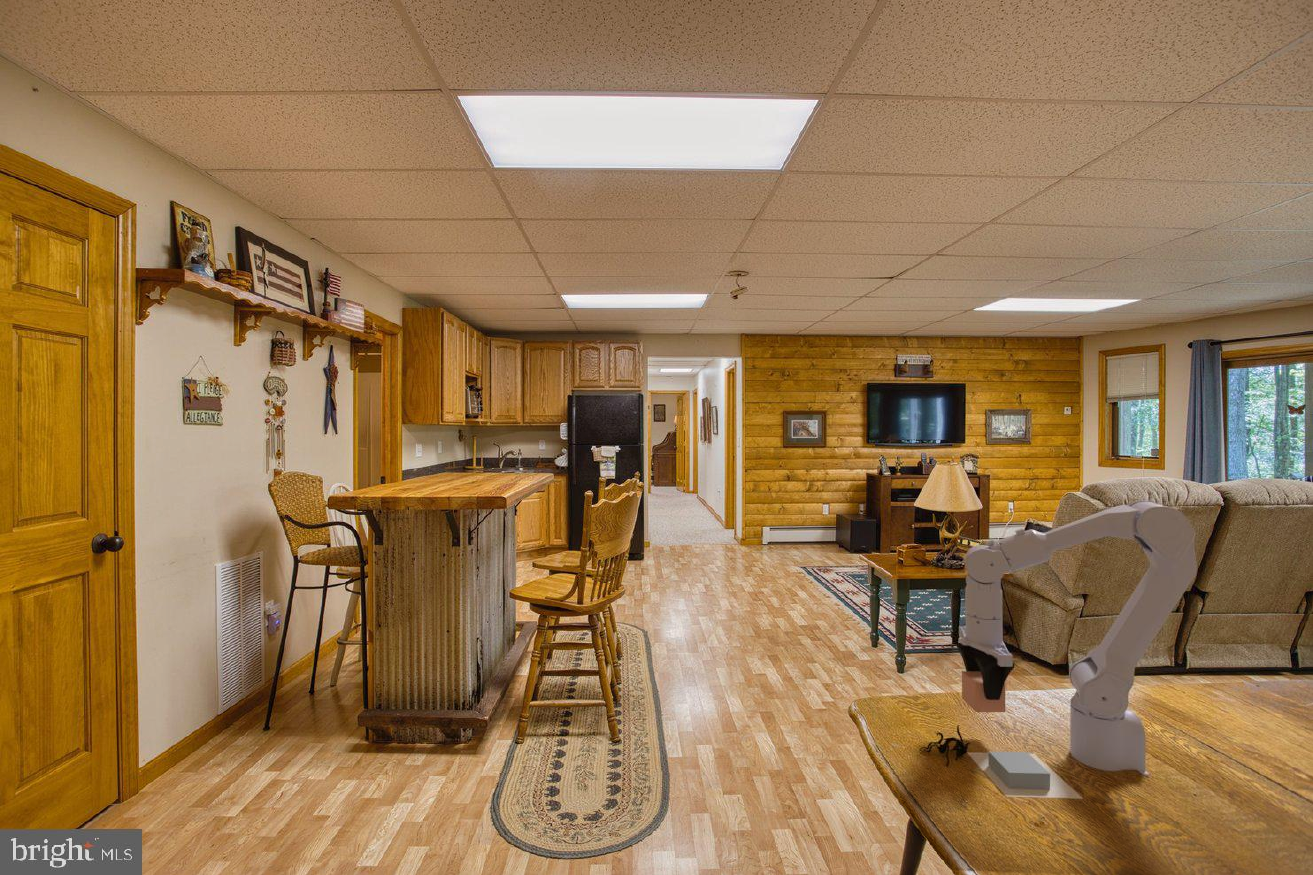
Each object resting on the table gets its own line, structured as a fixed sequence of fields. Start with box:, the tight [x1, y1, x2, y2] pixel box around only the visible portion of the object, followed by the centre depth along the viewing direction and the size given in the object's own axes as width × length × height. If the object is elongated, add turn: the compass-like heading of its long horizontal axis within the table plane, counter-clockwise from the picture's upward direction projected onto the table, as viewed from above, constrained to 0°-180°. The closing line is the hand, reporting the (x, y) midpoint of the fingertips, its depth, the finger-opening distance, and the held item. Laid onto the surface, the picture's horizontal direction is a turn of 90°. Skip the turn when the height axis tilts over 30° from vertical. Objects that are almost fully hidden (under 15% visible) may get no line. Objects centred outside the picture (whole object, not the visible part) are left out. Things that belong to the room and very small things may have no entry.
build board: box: [966, 751, 1084, 800], centre depth 92 cm, size 11×12×1 cm
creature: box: [918, 724, 972, 768], centre depth 98 cm, size 8×5×8 cm
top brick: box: [961, 670, 1006, 713], centre depth 104 cm, size 5×5×5 cm
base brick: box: [987, 750, 1050, 790], centre depth 91 cm, size 6×6×2 cm
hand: (984, 691), depth 104 cm, fingers closed on top brick, 5 cm apart
